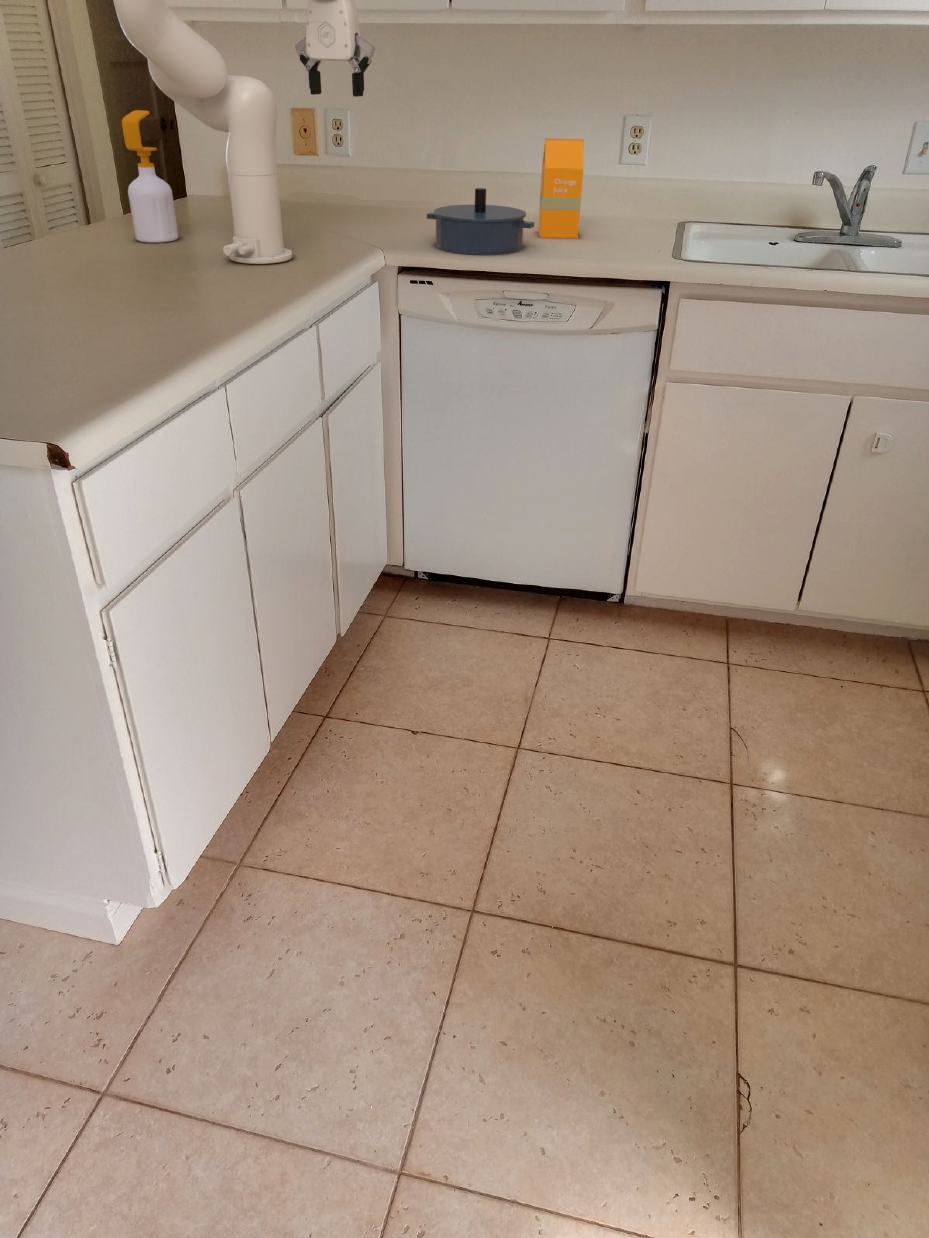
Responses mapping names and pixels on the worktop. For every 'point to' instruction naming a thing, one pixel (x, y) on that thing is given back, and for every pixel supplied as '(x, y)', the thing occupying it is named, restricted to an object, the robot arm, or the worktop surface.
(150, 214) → the soap bottle
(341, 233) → the worktop surface
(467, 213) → the lid
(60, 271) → the worktop surface
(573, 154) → the orange juice
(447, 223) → the pot
